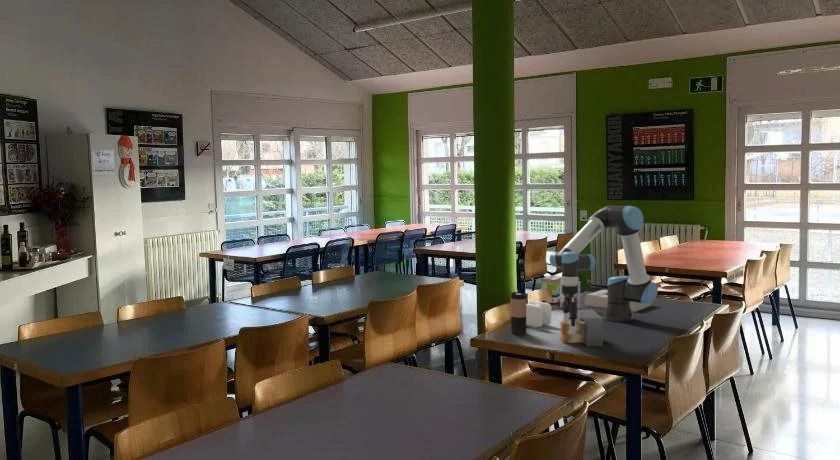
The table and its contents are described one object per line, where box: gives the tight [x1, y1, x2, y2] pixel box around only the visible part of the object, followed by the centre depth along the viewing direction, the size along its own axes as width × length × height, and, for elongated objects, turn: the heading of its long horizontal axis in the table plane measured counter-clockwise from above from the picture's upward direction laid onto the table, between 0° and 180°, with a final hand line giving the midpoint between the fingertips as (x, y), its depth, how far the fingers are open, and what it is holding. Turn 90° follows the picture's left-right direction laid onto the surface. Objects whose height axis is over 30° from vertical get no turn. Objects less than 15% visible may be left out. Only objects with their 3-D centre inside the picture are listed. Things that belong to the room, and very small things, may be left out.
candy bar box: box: [558, 280, 581, 311], centre depth 403 cm, size 11×5×16 cm, turn 58°
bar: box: [560, 320, 584, 344], centre depth 326 cm, size 18×5×9 cm, turn 89°
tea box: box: [540, 275, 562, 304], centre depth 428 cm, size 15×10×15 cm
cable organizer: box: [526, 300, 553, 329], centre depth 360 cm, size 15×11×12 cm
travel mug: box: [510, 291, 527, 336], centre depth 343 cm, size 8×8×20 cm
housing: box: [577, 309, 604, 347], centre depth 325 cm, size 7×20×13 cm, turn 0°
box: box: [584, 289, 653, 313], centre depth 410 cm, size 23×8×32 cm
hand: (569, 329), depth 325 cm, fingers open, 13 cm apart
